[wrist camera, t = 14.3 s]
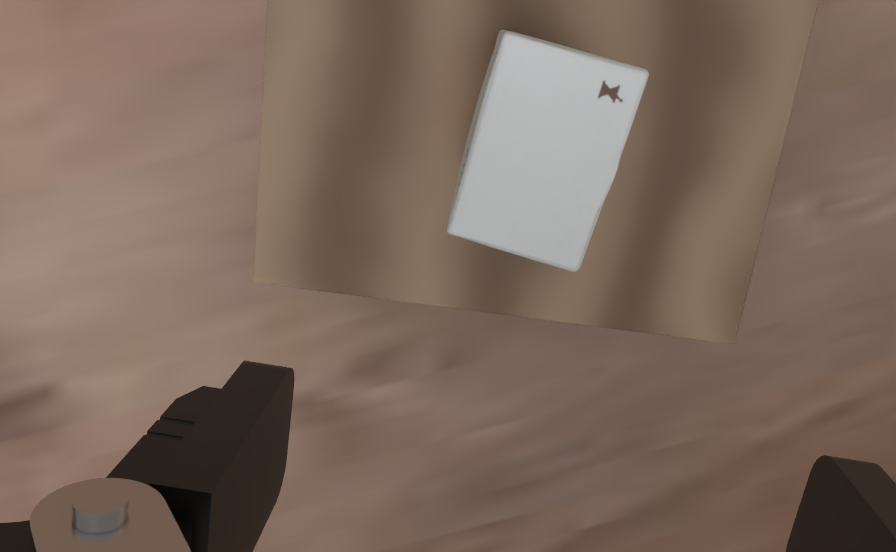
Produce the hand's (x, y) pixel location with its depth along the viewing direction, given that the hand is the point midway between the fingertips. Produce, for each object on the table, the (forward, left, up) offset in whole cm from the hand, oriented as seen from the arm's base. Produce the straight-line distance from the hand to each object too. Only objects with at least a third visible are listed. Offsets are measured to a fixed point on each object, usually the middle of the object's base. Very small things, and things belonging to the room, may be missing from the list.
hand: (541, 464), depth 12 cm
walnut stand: (0, -3, -27) cm, 27 cm away
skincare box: (0, -3, -23) cm, 24 cm away
